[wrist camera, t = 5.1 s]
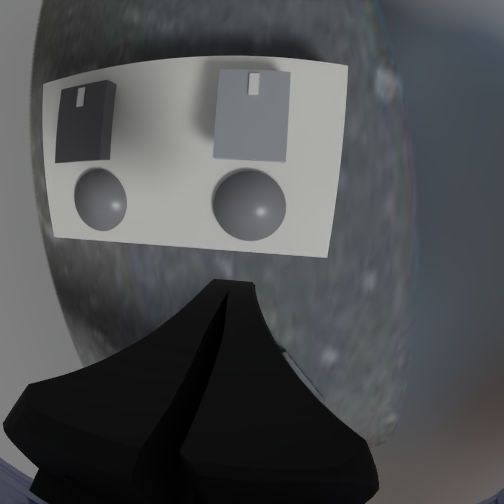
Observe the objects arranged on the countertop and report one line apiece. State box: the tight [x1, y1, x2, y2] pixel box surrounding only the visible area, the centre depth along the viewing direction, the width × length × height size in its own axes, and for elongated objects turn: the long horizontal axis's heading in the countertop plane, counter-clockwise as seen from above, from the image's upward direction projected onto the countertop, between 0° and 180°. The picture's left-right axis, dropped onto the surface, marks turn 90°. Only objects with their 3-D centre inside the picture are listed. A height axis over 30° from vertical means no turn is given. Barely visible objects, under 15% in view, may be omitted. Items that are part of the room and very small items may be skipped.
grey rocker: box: [213, 69, 291, 163], centre depth 12 cm, size 4×3×1 cm
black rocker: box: [55, 80, 117, 163], centre depth 12 cm, size 4×3×1 cm
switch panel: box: [43, 56, 348, 258], centre depth 15 cm, size 10×17×3 cm, turn 87°
